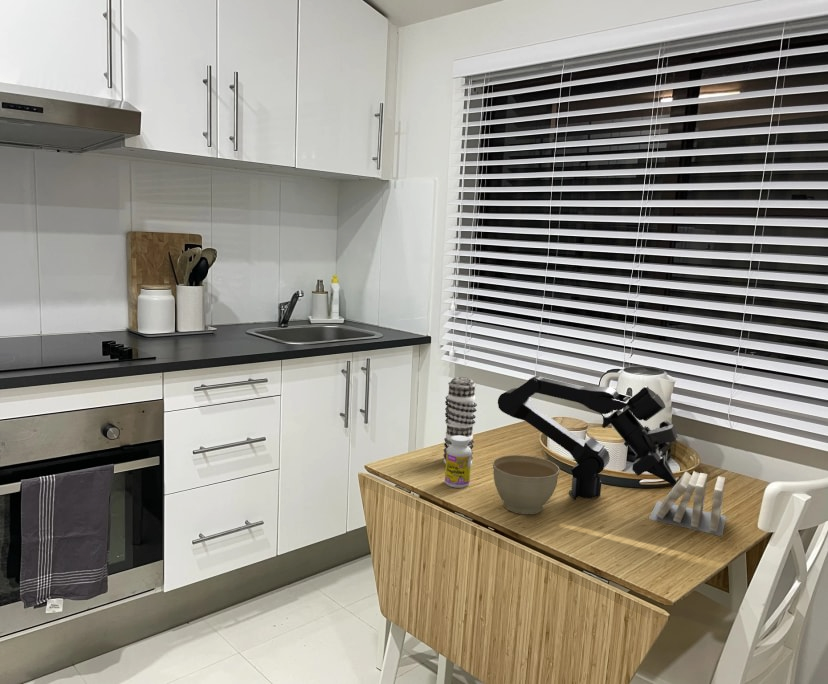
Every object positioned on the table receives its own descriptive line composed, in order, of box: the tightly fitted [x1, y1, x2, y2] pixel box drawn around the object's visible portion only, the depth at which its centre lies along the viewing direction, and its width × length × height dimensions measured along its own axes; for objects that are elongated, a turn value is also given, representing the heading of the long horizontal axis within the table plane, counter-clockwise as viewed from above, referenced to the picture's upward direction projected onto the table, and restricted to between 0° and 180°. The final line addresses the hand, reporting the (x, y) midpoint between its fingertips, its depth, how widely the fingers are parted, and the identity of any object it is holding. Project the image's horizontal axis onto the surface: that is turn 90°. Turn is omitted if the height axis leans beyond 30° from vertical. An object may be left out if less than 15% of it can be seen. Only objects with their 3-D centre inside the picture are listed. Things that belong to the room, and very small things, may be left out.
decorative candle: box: [442, 376, 478, 465], centre depth 190 cm, size 9×9×25 cm
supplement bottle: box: [444, 435, 473, 489], centre depth 175 cm, size 7×7×13 cm
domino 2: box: [673, 470, 700, 523], centre depth 158 cm, size 2×10×10 cm, turn 151°
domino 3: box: [691, 472, 708, 528], centre depth 156 cm, size 2×10×10 cm, turn 151°
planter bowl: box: [492, 454, 560, 515], centre depth 161 cm, size 16×16×11 cm
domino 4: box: [709, 475, 726, 532], centre depth 154 cm, size 2×10×10 cm, turn 151°
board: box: [648, 500, 727, 537], centre depth 158 cm, size 16×13×1 cm
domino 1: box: [656, 471, 692, 519], centre depth 159 cm, size 2×10×10 cm, turn 152°
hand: (674, 483), depth 159 cm, fingers closed
